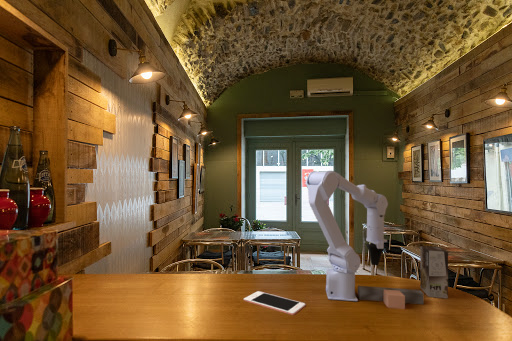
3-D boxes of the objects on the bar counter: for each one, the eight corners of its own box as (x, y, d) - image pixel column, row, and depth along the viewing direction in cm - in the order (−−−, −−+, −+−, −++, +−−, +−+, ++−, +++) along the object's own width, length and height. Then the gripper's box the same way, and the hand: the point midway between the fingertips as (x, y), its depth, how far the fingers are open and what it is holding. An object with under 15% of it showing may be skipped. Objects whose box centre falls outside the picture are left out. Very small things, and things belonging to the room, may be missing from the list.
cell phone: (257, 293, 104) (257, 290, 104) (305, 306, 94) (306, 303, 94) (242, 301, 97) (242, 298, 97) (293, 316, 87) (293, 313, 87)
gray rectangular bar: (359, 299, 101) (359, 288, 101) (357, 296, 104) (357, 285, 104) (423, 304, 98) (423, 293, 98) (419, 300, 101) (419, 290, 101)
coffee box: (448, 299, 103) (449, 251, 104) (428, 297, 104) (428, 250, 105) (438, 289, 112) (438, 246, 113) (419, 288, 113) (419, 244, 114)
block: (388, 308, 95) (388, 295, 95) (383, 301, 99) (383, 289, 100) (404, 309, 94) (404, 296, 94) (399, 302, 99) (399, 290, 99)
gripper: (393, 230, 102) (392, 271, 101) (381, 224, 116) (380, 260, 116) (371, 229, 103) (370, 269, 102) (362, 223, 117) (361, 259, 117)
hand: (374, 264), depth 109 cm, fingers closed
